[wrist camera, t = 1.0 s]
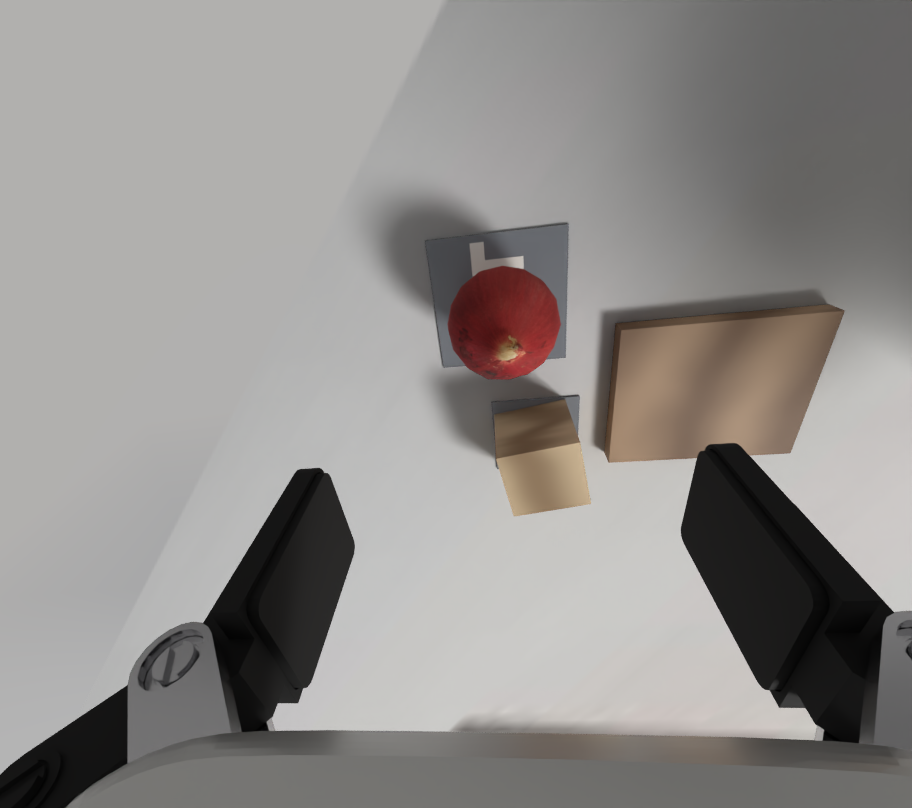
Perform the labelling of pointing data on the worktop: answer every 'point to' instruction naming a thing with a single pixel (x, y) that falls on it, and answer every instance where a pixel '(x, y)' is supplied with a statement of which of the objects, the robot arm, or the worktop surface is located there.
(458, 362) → the tile
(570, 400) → the code tile
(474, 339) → the onion
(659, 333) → the board
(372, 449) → the worktop surface
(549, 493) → the oak block
